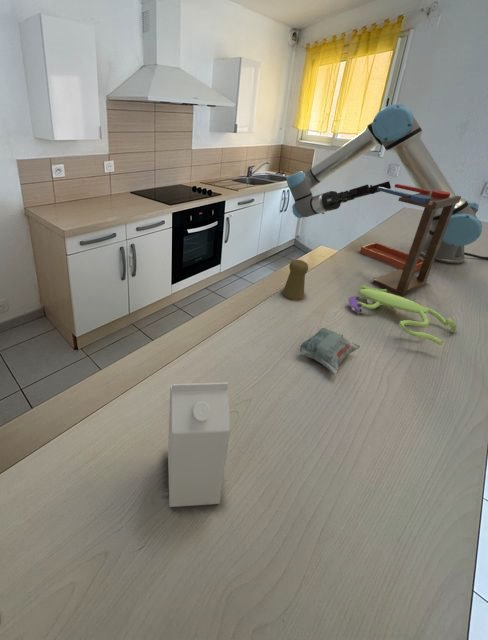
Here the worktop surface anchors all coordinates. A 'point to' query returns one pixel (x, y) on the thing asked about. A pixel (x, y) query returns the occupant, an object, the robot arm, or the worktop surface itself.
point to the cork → (296, 280)
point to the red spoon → (425, 191)
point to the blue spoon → (407, 195)
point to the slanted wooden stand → (420, 246)
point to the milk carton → (197, 443)
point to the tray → (388, 255)
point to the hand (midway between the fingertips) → (379, 186)
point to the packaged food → (328, 348)
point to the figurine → (401, 304)
